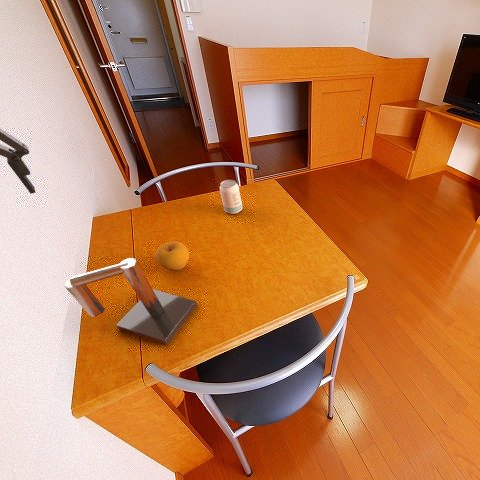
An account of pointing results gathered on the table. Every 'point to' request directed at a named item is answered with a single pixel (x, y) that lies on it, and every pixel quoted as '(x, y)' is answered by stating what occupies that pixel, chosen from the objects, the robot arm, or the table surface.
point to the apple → (172, 255)
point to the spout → (125, 267)
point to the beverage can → (231, 196)
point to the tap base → (158, 318)
